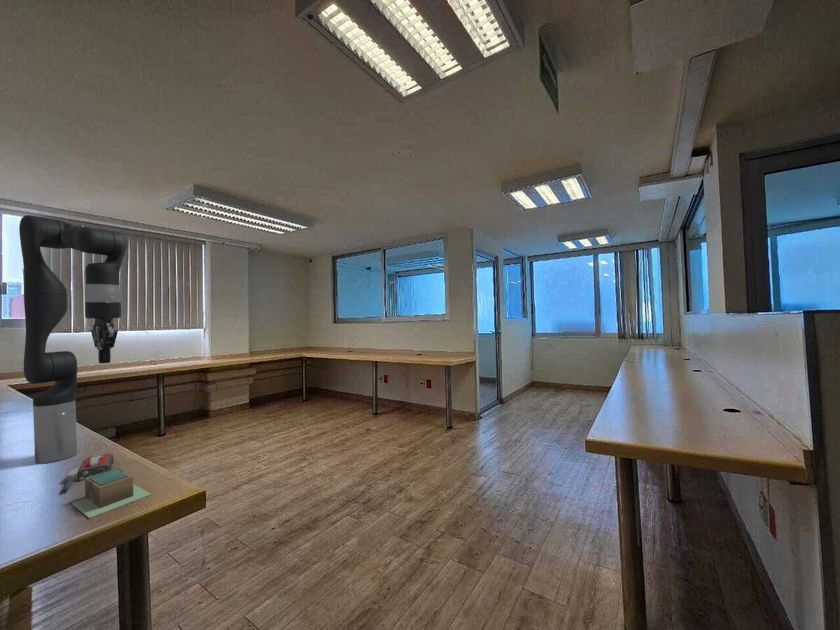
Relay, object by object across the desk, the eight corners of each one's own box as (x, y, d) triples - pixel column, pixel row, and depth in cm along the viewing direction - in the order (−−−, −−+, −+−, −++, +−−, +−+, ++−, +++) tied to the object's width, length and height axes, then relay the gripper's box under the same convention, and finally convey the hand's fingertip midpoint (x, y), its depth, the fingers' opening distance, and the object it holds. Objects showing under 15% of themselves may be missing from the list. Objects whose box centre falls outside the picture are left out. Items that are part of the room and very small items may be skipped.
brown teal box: (84, 477, 83) (99, 487, 77) (116, 467, 88) (132, 476, 83) (85, 497, 83) (100, 508, 77) (117, 486, 88) (133, 495, 83)
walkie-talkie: (74, 469, 101) (59, 496, 85) (74, 454, 101) (59, 478, 85) (114, 461, 106) (107, 484, 90) (114, 446, 106) (107, 467, 91)
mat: (72, 504, 80) (72, 503, 80) (131, 483, 90) (131, 482, 90) (89, 518, 74) (89, 517, 74) (151, 495, 83) (151, 494, 83)
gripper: (77, 301, 98) (79, 363, 98) (93, 300, 91) (94, 366, 91) (112, 302, 104) (113, 360, 105) (129, 300, 97) (130, 363, 97)
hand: (104, 363), depth 98 cm, fingers closed
